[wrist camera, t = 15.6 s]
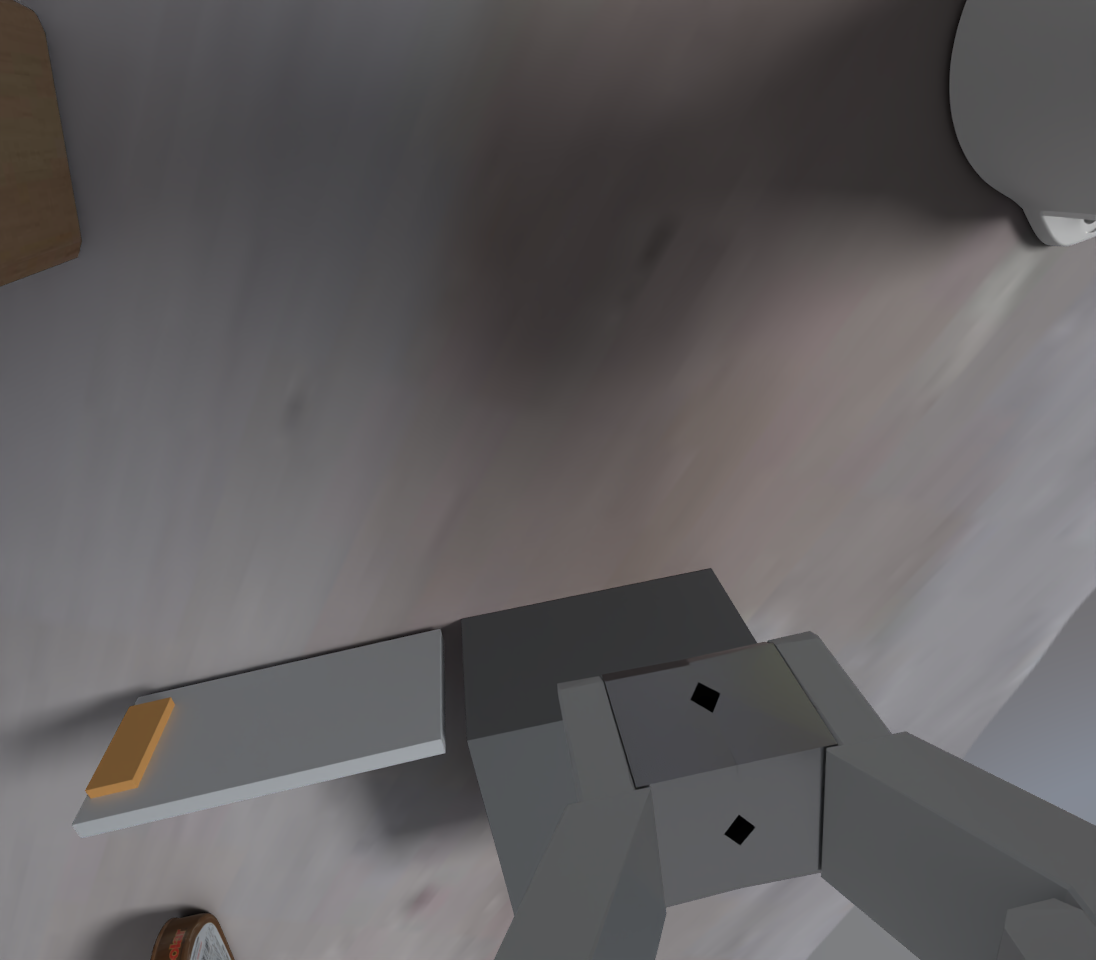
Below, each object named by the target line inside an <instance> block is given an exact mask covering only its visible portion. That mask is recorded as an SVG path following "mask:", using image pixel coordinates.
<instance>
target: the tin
mask: <svg viewBox="0 0 1096 960" xmlns="http://www.w3.org/2000/svg"><path fill="white" fill-rule="evenodd" d="M151 960H234V957H233V955H232V952H231V950H230V948H229V945H228V943H227V941H226V938H225V936H224V933H223V931H222V929H221V927H220V924H219V922H218V921H217V919H216V918H215V916H213V915H212V914H210V913H202V914H196V915H192V916H187V917H183V918H172V919H170V920H168V921H167V922H166V923H165V925H164V926H163V927H162V929H161V931H160V933H159V935H158V937H157V939H156V942H155V945H154V947H153V951H152V955H151Z"/></svg>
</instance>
